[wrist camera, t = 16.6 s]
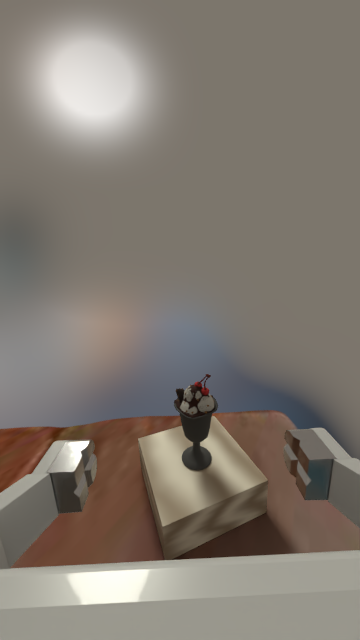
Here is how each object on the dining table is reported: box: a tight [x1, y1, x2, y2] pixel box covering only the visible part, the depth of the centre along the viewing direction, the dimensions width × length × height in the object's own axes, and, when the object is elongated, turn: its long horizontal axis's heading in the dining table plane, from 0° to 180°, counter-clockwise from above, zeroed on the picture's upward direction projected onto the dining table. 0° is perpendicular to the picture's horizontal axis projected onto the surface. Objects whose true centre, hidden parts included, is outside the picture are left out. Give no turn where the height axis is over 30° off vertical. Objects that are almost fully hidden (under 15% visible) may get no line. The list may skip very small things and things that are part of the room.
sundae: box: [174, 374, 218, 470], centre depth 36 cm, size 7×7×15 cm
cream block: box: [138, 416, 268, 560], centre depth 39 cm, size 16×16×6 cm
